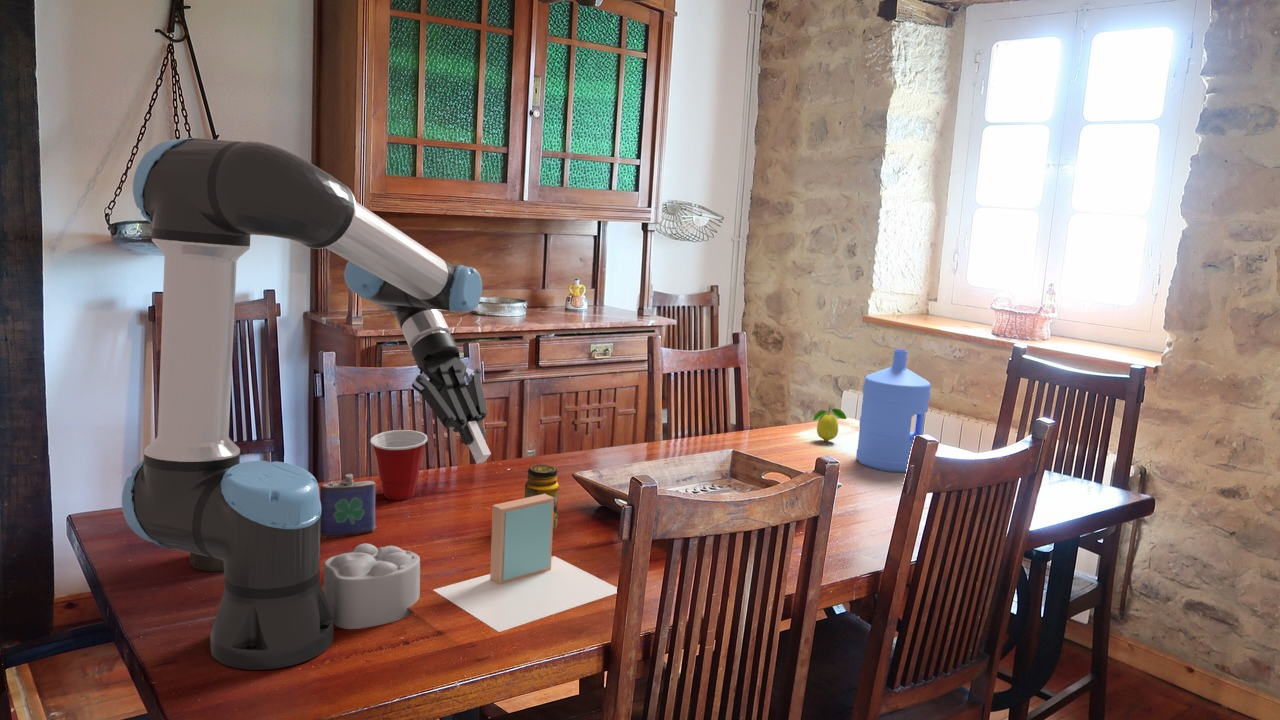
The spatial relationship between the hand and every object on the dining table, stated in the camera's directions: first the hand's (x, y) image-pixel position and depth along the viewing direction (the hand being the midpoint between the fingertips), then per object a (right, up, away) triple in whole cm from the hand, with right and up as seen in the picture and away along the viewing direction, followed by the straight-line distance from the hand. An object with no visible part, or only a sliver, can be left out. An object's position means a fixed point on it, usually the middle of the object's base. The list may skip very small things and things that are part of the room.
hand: (483, 458), depth 155 cm
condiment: (+7, -15, +15) cm, 22 cm away
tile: (+7, -17, -7) cm, 20 cm away
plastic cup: (-22, -11, +30) cm, 39 cm away
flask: (-25, -14, +9) cm, 30 cm away
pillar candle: (-40, -16, -5) cm, 44 cm away
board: (+9, -20, -12) cm, 25 cm away
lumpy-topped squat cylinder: (-13, -20, -19) cm, 30 cm away
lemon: (+75, -5, +92) cm, 119 cm away
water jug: (+86, -9, +75) cm, 114 cm away
